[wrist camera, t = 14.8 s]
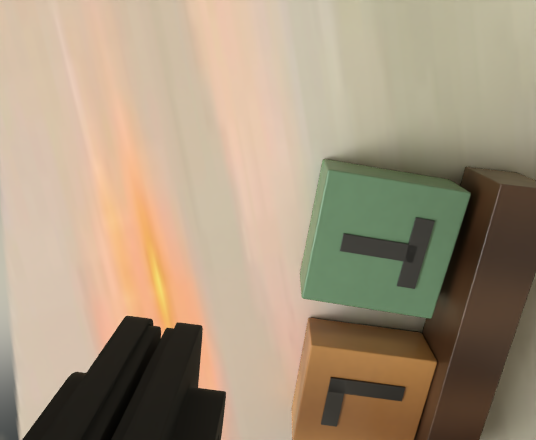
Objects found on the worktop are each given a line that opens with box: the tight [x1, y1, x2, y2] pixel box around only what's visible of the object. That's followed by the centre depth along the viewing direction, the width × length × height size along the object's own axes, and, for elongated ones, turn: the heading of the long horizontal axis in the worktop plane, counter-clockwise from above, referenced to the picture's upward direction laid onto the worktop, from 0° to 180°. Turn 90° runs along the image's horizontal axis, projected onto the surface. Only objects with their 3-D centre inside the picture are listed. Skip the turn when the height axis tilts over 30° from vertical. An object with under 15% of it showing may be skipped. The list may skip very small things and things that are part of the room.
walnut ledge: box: [414, 167, 536, 440], centre depth 21 cm, size 16×2×4 cm, turn 173°
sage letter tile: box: [300, 159, 471, 319], centre depth 20 cm, size 6×6×3 cm
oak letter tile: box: [292, 318, 437, 440], centre depth 22 cm, size 6×6×3 cm
